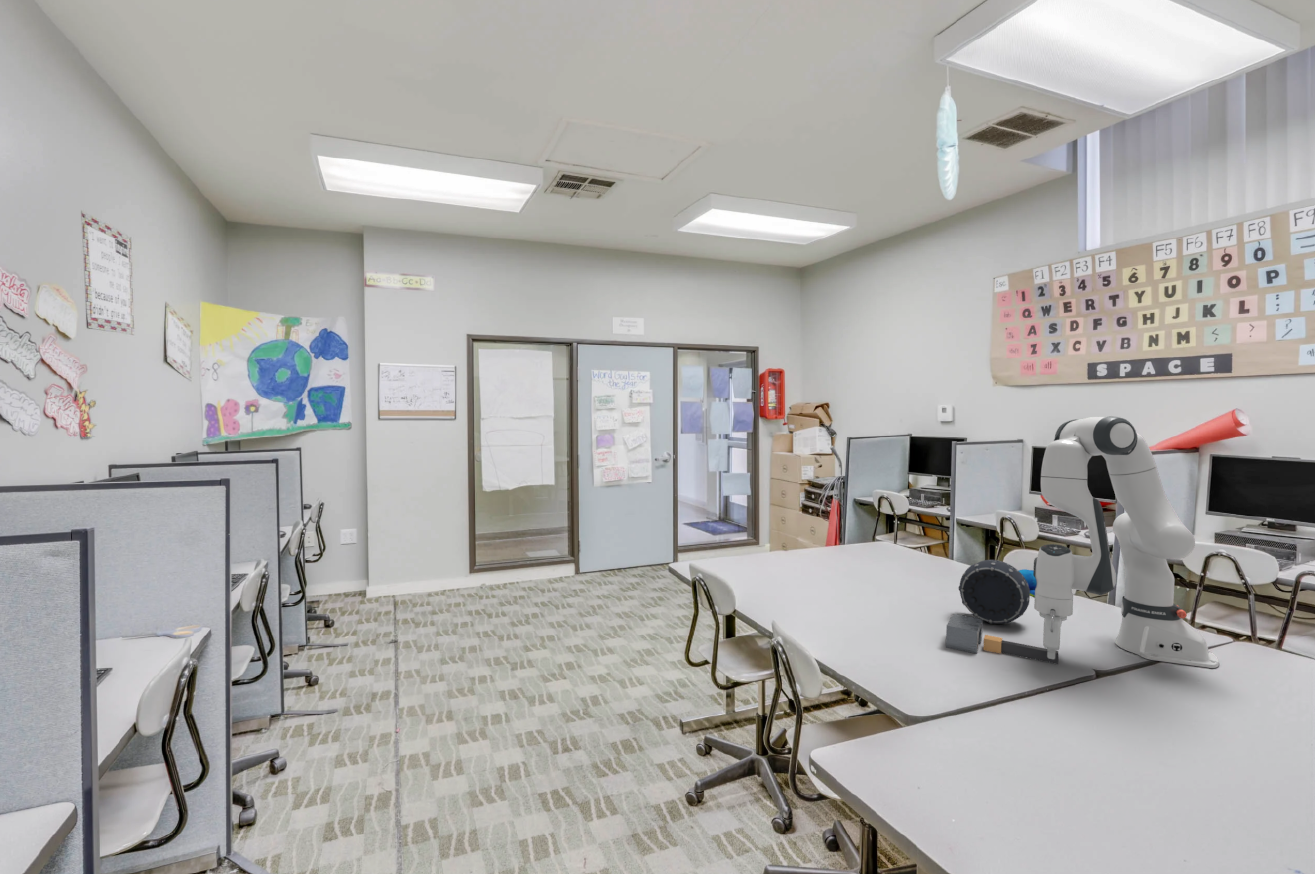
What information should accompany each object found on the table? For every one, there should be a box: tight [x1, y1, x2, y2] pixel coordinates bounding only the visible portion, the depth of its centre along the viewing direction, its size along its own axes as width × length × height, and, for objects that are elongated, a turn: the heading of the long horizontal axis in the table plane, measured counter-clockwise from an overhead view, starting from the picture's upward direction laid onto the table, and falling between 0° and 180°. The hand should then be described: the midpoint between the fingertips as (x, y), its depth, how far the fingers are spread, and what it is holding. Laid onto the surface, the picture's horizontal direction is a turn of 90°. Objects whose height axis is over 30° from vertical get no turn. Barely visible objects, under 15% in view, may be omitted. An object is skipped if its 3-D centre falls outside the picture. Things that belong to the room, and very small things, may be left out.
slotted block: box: [945, 613, 984, 654], centre depth 178 cm, size 8×12×6 cm, turn 146°
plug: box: [983, 634, 1059, 665], centre depth 170 cm, size 18×4×3 cm, turn 56°
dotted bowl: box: [958, 559, 1031, 625], centre depth 196 cm, size 11×20×20 cm, turn 53°
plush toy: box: [1018, 568, 1037, 598], centre depth 230 cm, size 17×17×8 cm
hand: (1051, 654), depth 166 cm, fingers open, 4 cm apart
